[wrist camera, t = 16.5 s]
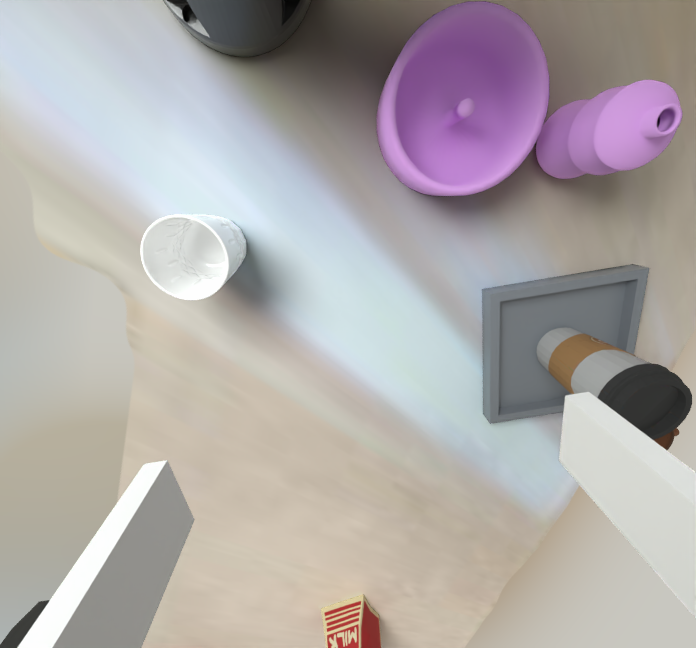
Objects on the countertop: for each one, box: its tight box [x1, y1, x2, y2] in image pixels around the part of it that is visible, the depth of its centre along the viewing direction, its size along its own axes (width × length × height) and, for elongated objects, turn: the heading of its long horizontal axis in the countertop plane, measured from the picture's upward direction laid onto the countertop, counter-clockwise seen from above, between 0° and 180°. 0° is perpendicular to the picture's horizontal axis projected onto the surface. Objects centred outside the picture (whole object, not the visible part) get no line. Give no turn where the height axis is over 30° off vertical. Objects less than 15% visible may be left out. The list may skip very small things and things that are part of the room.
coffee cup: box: [536, 327, 692, 440], centre depth 39 cm, size 8×8×15 cm
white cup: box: [141, 214, 246, 300], centre depth 35 cm, size 8×8×10 cm
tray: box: [482, 264, 649, 424], centre depth 46 cm, size 20×20×2 cm
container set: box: [377, 1, 682, 196], centre depth 31 cm, size 25×15×13 cm, turn 81°
